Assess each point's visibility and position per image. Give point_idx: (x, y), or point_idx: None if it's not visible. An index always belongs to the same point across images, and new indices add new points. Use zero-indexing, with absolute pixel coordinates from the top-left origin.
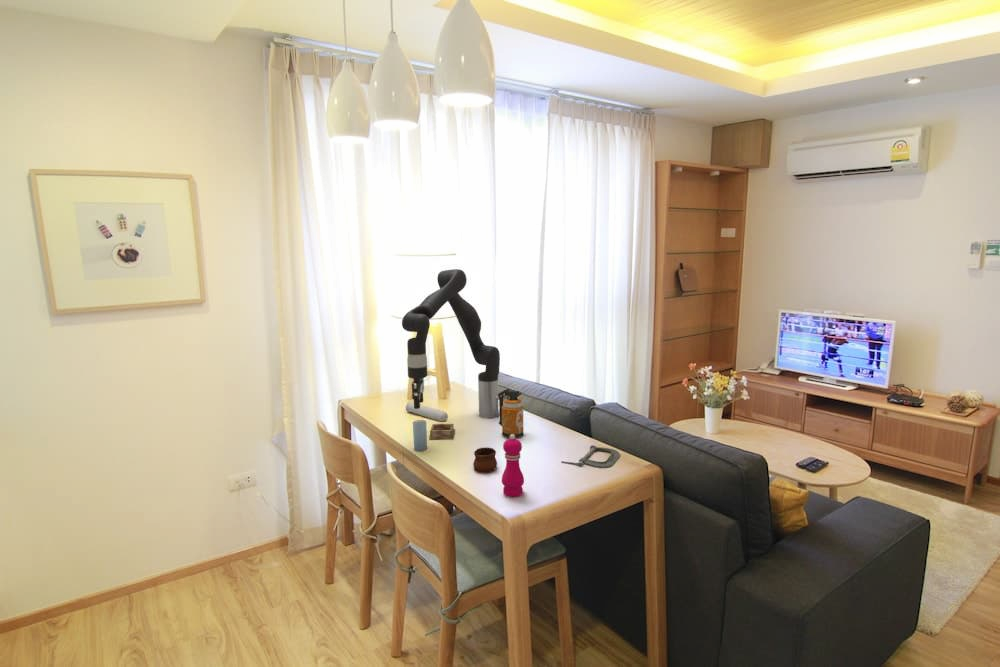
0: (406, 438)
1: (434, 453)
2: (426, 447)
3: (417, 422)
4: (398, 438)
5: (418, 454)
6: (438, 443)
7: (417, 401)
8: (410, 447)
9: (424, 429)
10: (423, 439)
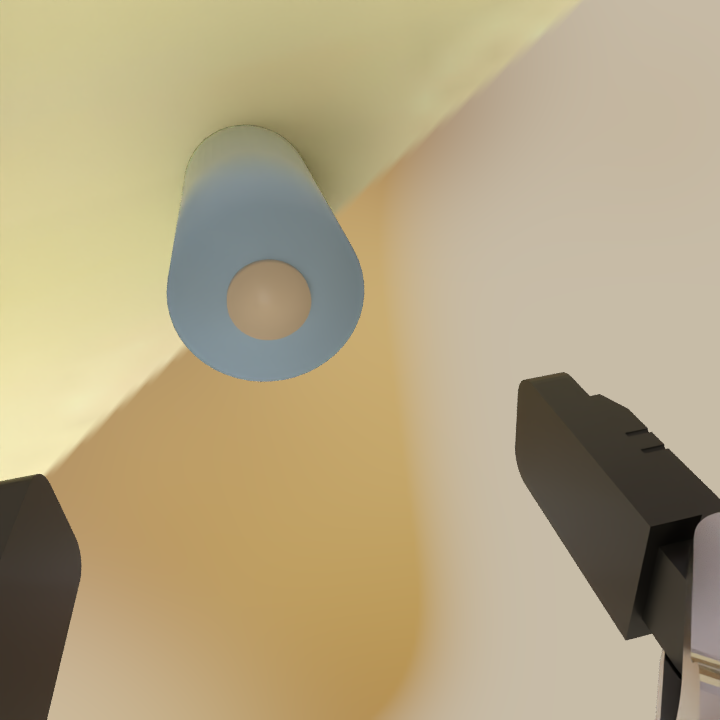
0: (22, 394)
1: (352, 8)
2: (257, 129)
3: (305, 317)
4: (46, 451)
5: (385, 168)
6: (54, 32)
7: (711, 507)
8: None
9: (302, 188)
10: (305, 170)
